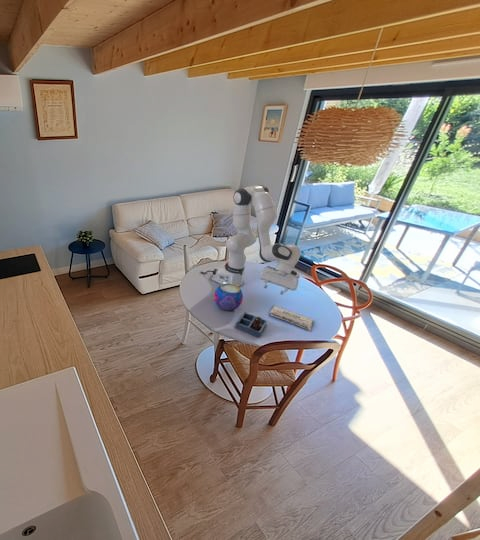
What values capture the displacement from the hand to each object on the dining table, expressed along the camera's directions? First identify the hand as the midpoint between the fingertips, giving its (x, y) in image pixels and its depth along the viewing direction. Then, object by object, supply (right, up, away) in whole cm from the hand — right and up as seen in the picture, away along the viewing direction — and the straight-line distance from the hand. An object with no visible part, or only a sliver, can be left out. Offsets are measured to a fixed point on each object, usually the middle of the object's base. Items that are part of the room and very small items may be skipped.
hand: (273, 291), depth 167 cm
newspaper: (+16, -18, +9) cm, 26 cm away
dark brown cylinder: (-11, -23, -1) cm, 26 cm away
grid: (-12, -22, +3) cm, 25 cm away
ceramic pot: (-20, -12, +20) cm, 31 cm away
